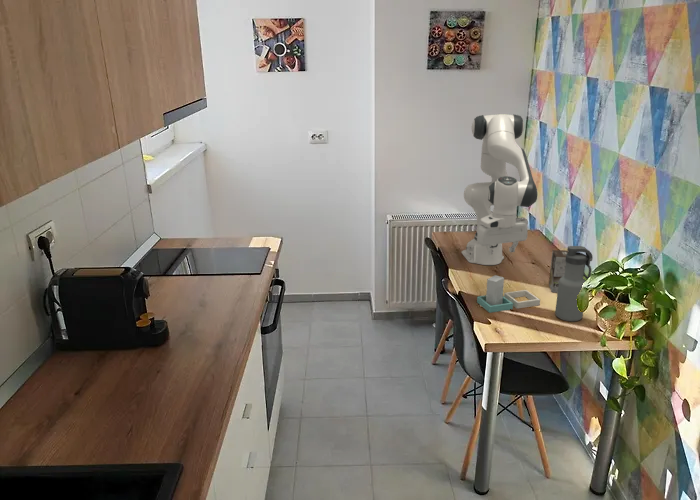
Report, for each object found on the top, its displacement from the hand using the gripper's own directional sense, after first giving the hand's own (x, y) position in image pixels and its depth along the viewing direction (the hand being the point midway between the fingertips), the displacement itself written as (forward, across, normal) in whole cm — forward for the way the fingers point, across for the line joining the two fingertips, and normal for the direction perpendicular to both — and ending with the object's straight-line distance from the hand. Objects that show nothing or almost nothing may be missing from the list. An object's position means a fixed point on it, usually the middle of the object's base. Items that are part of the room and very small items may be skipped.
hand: (501, 253), depth 212 cm
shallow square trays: (+21, -4, +3) cm, 22 cm away
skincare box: (+22, +3, +3) cm, 22 cm away
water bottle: (+21, -20, +20) cm, 35 cm away
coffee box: (+22, -32, -5) cm, 39 cm away
